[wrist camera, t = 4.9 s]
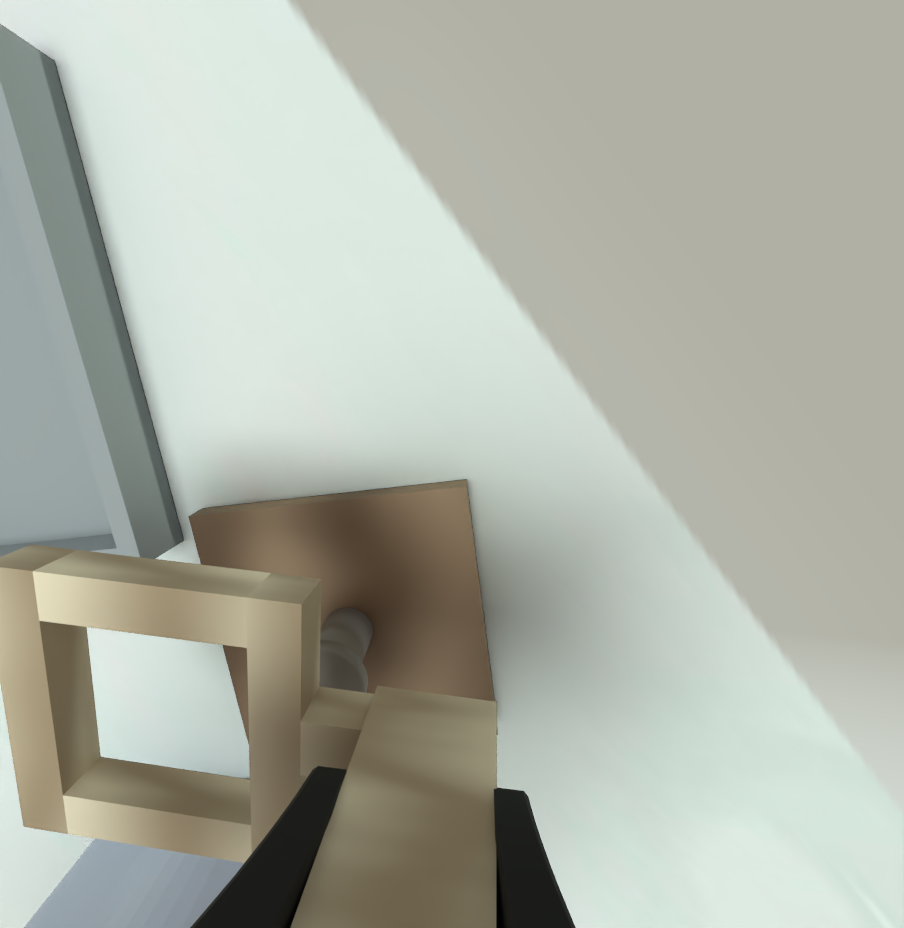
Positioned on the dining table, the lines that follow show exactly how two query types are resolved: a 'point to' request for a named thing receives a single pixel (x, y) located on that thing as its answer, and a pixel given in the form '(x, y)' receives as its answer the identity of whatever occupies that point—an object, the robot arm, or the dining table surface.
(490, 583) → the dining table surface
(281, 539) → the block
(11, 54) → the grey rectangular frame
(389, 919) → the wooden knob frame
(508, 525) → the dining table surface
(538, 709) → the dining table surface
